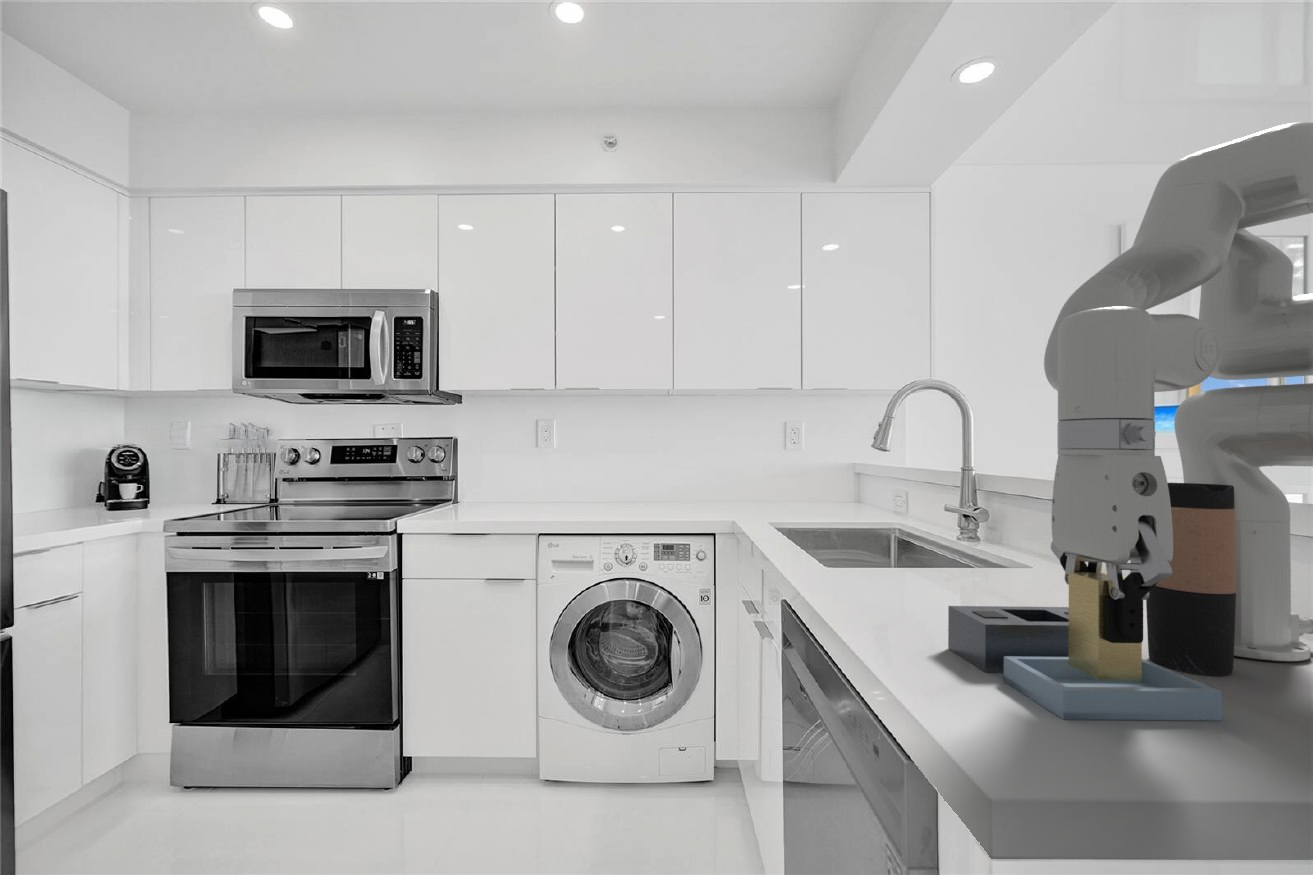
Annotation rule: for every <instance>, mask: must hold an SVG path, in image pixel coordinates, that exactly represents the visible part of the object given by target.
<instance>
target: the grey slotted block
mask: <svg viewBox="0 0 1313 875" xmlns="http://www.w3.org/2000/svg"><path fill="white" fill-rule="evenodd" d="M947 612H948V613H947V614H948V629H947V631H948V636H947V637H948V640H947V641H948V642H947V644H948V645H947V647H948V649H949V650H950V651H952V652H953V653H955V654H956V655H957V656H959V657H961V658H963V659H964V660H965V661H967V662H969V663H970V664H971V665H973V666H975V667H977V668H978V669H980V670H981V671H983V672H984V673H996V674H997V673H1000V674H1001V673H1003V674H1004V656H1022V657H1069V606H1010V605H1009V606H1006V605H1004V606H998V605H997V606H994V605H993V606H992V605H991V606H989V605H986V606H985V605H948V611H947Z"/></svg>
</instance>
